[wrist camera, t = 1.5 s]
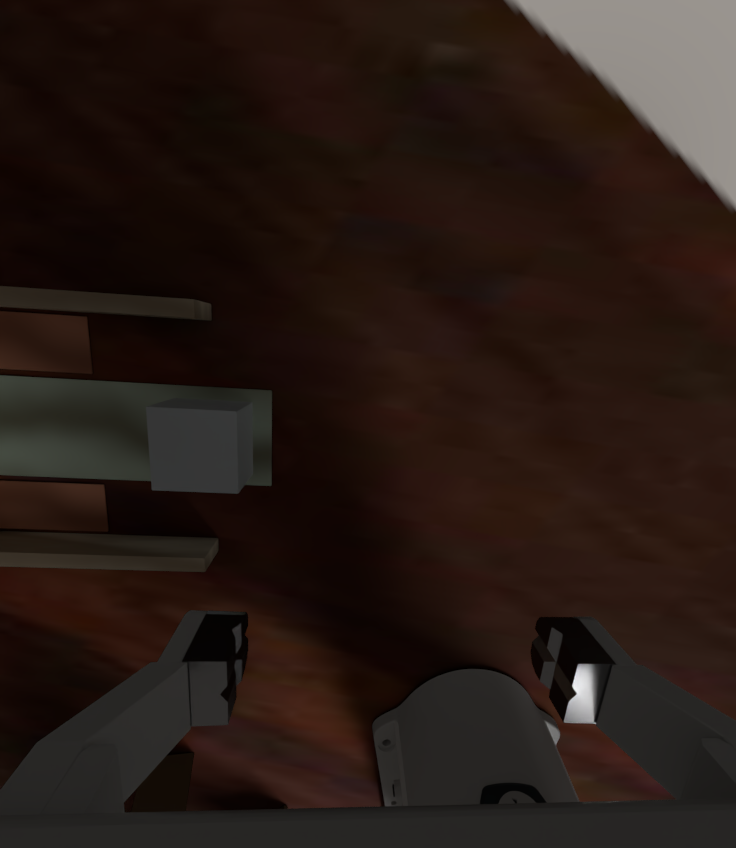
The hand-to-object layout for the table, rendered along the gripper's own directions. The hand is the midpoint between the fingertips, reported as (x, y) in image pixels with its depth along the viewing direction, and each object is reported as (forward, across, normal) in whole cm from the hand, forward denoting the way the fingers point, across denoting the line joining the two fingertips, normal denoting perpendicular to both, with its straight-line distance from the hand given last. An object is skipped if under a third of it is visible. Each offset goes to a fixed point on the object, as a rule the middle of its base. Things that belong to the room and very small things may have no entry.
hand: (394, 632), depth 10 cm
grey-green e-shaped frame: (+20, +19, +1) cm, 28 cm away
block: (+20, +12, +1) cm, 24 cm away
